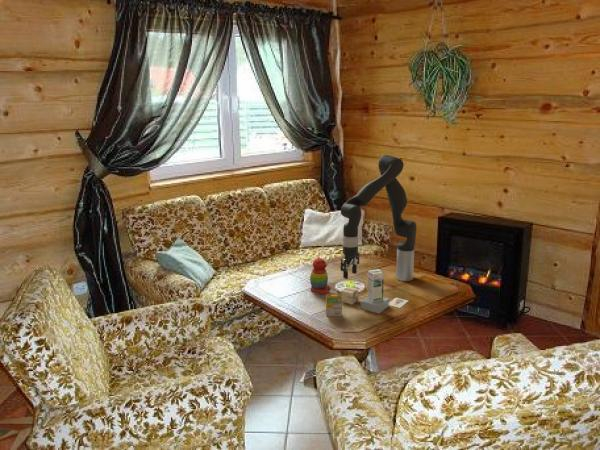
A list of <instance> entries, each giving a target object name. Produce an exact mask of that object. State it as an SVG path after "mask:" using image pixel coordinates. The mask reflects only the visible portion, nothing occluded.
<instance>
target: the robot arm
mask: <svg viewBox="0 0 600 450" xmlns="http://www.w3.org/2000/svg"><path fill="white" fill-rule="evenodd" d="M404 165H405V164H404V161H403V160H402V159H401V158H400V157H396V156H393V155H389V154H384V155H381V157H380V158H379V160H378V169H379V170H378V171H379V173H380V175H381V176H379V177H377V178H375V179H374V180H372V181H370V182H368V183H366V184H365V185H364V186H362V187H361V189H359V191H358V192H357V193H356V195H354V196H353V197H351V198H349V199H348V200H347V201H346V202H344V203H343V205H342V206H341V209H340V214H341V216H342V217H343V218H346V219H348V222H346V223H344V225H343V230H342V231H343V233H342V235H343V236H342V254H343V255H344V258H341V259H340V271H341V272H342V273H343V276H342V278H343V279H345V280H346V279H348V278H349V270H350V269H349V268H351V273H352V274H353V275H354V274H355V275H356V274H357V273H358V271H357V267H358V266H359V265H360V252H359V225H360V223H361V217H362V209H361V208H360V207H365V206H367V205H368V204H369V203H370V202H371V201H372V199H373V198H375V196H376V195H377V194H378V193H379V192H380V191H381V190H382V189H383V188H385V190H386V194H387V195H386V196H387V199H388V200H387V201H388V203H389V207H390V210H391V214H392V221H393V227H394V228H393V229H394V233H395V235H396V236H399V237H402V238H406V240H403V241H400V242H398V243H397V245H396V246H397V247H396V271H395V272H396V273H395V274H396V275H395V278H396V279H397V281H402V282H410V281H412V280H414V265H415V262H414V261H415V246H416V238H417V237H416V236H417V223H416V222H415V221H414V220H408V219H404V218H403V217H402V214H403V212H404V211H405V208H406V207H407V205H408V198H407V194H406V191H405V189H404V187H403V185H402V184H401V183H400V181H399V180H398V178H397V177H398V176H400V174H401V173H402V171H403V169H404V167H405V166H404Z"/></svg>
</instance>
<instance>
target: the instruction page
mask: <svg viewBox="0 0 600 450" xmlns="http://www.w3.org/2000/svg"><path fill="white" fill-rule="evenodd" d="M408 302H409V300H407V299H403V298H399V297H395V298H393V299H392V300H390V301H389V306H391V307H395V308H398V309H401V308H402V307H403V306H405V305H406V304H407V303H408Z"/></svg>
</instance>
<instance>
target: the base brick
mask: <svg viewBox="0 0 600 450" xmlns="http://www.w3.org/2000/svg"><path fill="white" fill-rule="evenodd" d="M389 302H390V298H389V297H384V296H383V301H376V302H372V301H371V300H370V299H369V298H368V295H367V296H365V298H363V299H362V300H360V309H361V310H365V311H368V312H372V313H376V314H381V313H382V312H384V310H386V309H387V308H388V307H389V306H390V305H389Z"/></svg>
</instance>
